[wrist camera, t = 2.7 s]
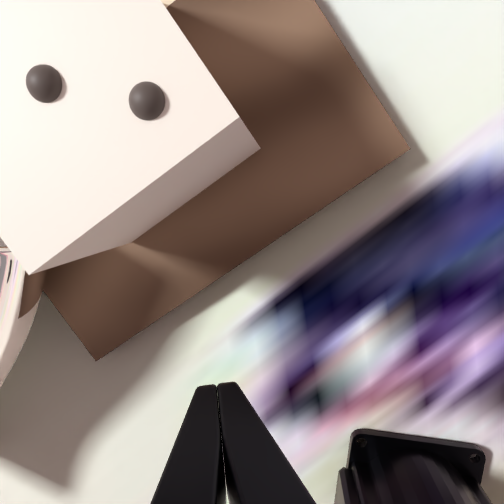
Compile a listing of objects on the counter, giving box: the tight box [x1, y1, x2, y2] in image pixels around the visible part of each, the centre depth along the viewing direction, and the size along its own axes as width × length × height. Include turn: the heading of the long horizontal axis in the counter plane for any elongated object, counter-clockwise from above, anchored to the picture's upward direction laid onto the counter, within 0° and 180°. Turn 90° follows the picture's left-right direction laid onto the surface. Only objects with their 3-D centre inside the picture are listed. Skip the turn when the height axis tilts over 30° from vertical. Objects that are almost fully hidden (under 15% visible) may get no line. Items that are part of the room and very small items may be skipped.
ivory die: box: [0, 0, 261, 275], centre depth 14 cm, size 8×8×8 cm
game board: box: [43, 0, 410, 361], centre depth 17 cm, size 20×18×3 cm
